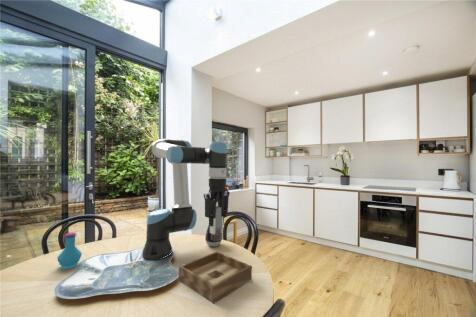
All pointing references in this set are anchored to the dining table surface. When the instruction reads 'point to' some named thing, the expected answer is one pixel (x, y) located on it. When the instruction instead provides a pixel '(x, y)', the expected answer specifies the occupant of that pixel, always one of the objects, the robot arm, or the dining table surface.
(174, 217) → the robot arm
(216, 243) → the pump dispenser
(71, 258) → the perfume bottle
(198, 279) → the box
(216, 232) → the peg
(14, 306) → the dining table surface
